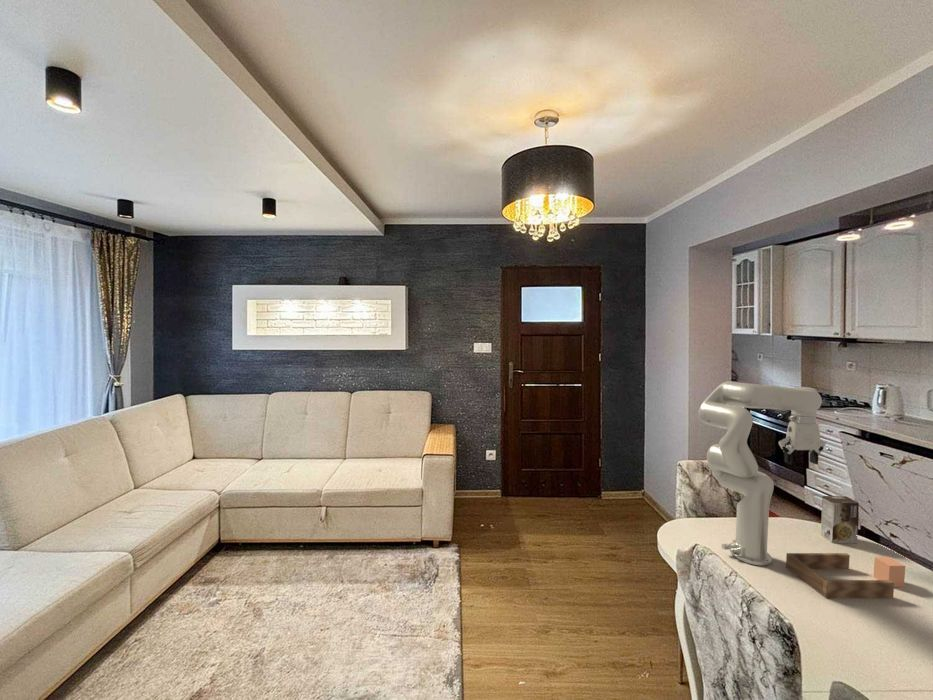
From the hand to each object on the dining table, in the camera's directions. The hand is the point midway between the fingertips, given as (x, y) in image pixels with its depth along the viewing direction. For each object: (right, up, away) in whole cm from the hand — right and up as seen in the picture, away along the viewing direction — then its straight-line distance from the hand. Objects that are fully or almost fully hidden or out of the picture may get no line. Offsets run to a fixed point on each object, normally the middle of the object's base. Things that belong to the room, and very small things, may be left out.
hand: (801, 463), depth 163 cm
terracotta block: (+9, -32, -25) cm, 42 cm away
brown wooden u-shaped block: (-8, -32, -25) cm, 41 cm away
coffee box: (+16, -30, +2) cm, 34 cm away
